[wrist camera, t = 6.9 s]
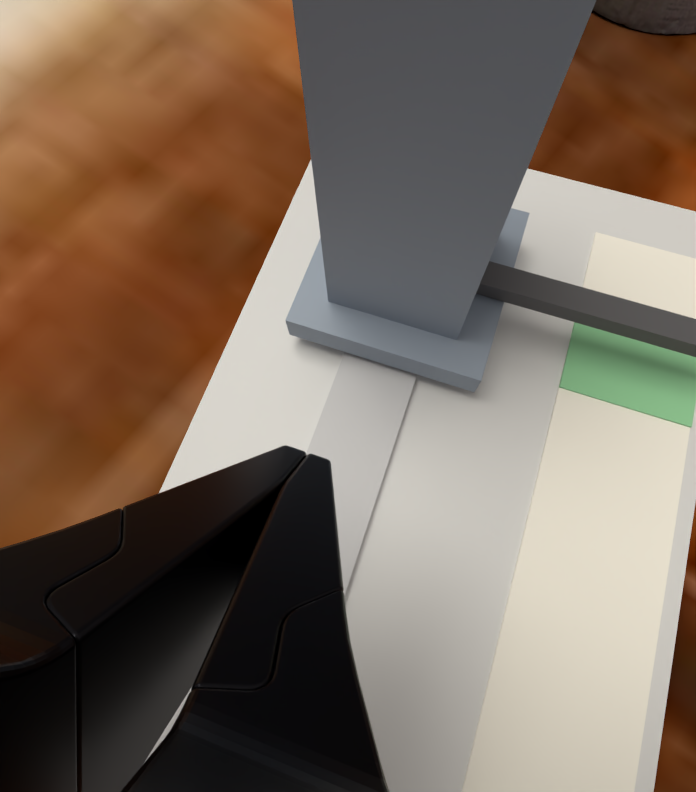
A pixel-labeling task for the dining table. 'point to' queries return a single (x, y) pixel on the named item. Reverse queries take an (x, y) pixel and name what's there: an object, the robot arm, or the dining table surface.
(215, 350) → the dining table surface
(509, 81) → the tuning slider
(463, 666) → the gauge board
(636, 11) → the pillar candle
